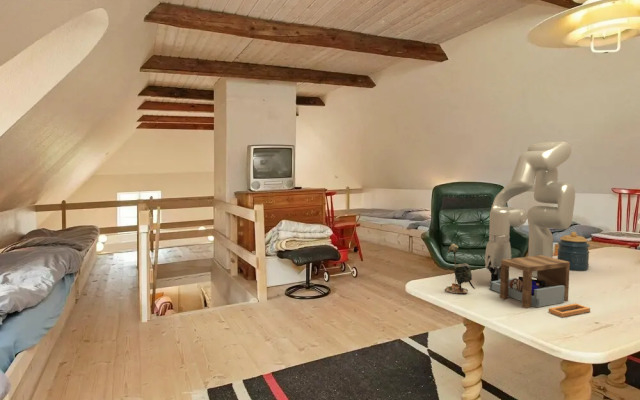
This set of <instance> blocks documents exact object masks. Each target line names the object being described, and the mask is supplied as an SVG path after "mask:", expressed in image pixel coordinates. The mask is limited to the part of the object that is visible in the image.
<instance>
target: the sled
mask: <svg viewBox="0 0 640 400" xmlns="http://www.w3.org/2000/svg"><path fill="white" fill-rule="evenodd" d="M493 269H494V268H493ZM497 274H498V281H491V280H490V282H489V289H490V290H492V291H494V292H497V293H499V294H500V278H501V268H499V267H498V269H497ZM512 279H518V278H516V277H513V278H509V283H510V281H511V280H512ZM564 295H565V286H563V285H559V286H553V287H547V288H540V289H534V296H532V295H531V307H532V306H533V307H535V308H539V307H543V306H544V307H546V306H550V305H555V304H562V303H565V301H564ZM509 297H510V298H513V299H515V300H517V301H520V302H522V292H520V291H518V290H515V289H512V288H509V289H508V298H509Z"/></svg>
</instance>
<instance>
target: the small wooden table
mask: <svg viewBox="0 0 640 400" xmlns="http://www.w3.org/2000/svg"><path fill="white" fill-rule="evenodd" d="M509 266H510V267H509ZM510 268H513V269H517V270H521V271H522V277H523V287H522V301H521V307H523V308H525V309H529V308H532V305H531V291H532V279H533V277H532V271H537V277H536V280H540V281H542V280H543V281H545V285H550V286H559V285H563V286H565V295H564V302H568V301H569V291H570V288H569V287H570V270H569V268H570V262H568V261H563V260H559V259H557V258H555V257H552V258H551V257H547V256H542V255H538V256H529V257H528V256H522V257H513V258H511V259H504V260H501V278H500V293H499V298H500V299H503V300H508V299H509V296H508V289H509V279H510ZM546 288H547V287H546Z"/></svg>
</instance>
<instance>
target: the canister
mask: <svg viewBox="0 0 640 400" xmlns="http://www.w3.org/2000/svg"><path fill="white" fill-rule="evenodd" d="M559 239H560V241H558V242H557V244H558V248H557V258H556V259H559V260H563V261H568V262H570V268H569V271H578V272H580V271H581V272H583V271H588V270H589V267H590V265H589V258H590V251H589V247H591V246H590V244H589V243H588V239H587V238H585V236H582V235H578V234H577V232H576V231H571V233H570V234H566V235H565V234H564V235H563V236H561V237H559Z"/></svg>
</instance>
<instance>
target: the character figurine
mask: <svg viewBox="0 0 640 400" xmlns="http://www.w3.org/2000/svg"><path fill="white" fill-rule="evenodd" d="M511 279H512V278H511ZM522 287H523V276H518V278H517V279H512V280H511V281H510V283H509V288H512V289H515V290H518V291H520V292H522ZM546 287H553V286H550V285H545V281H543V280H542V281H540V280H537V279H534V278H532V291H531V295H532V296H534V289H540V288H546Z"/></svg>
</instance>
